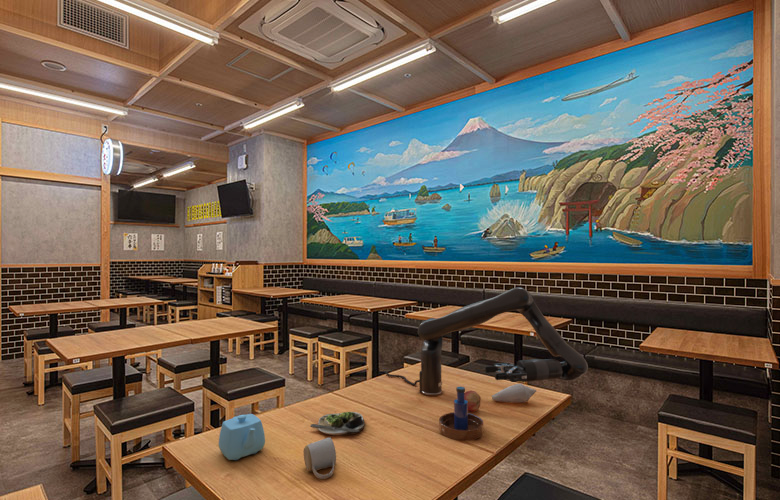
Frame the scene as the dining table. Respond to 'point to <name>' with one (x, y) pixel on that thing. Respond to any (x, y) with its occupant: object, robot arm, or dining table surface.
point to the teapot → (241, 436)
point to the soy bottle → (460, 410)
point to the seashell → (514, 394)
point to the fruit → (472, 400)
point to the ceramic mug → (320, 457)
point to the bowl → (472, 433)
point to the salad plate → (340, 423)
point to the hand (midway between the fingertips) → (490, 373)
